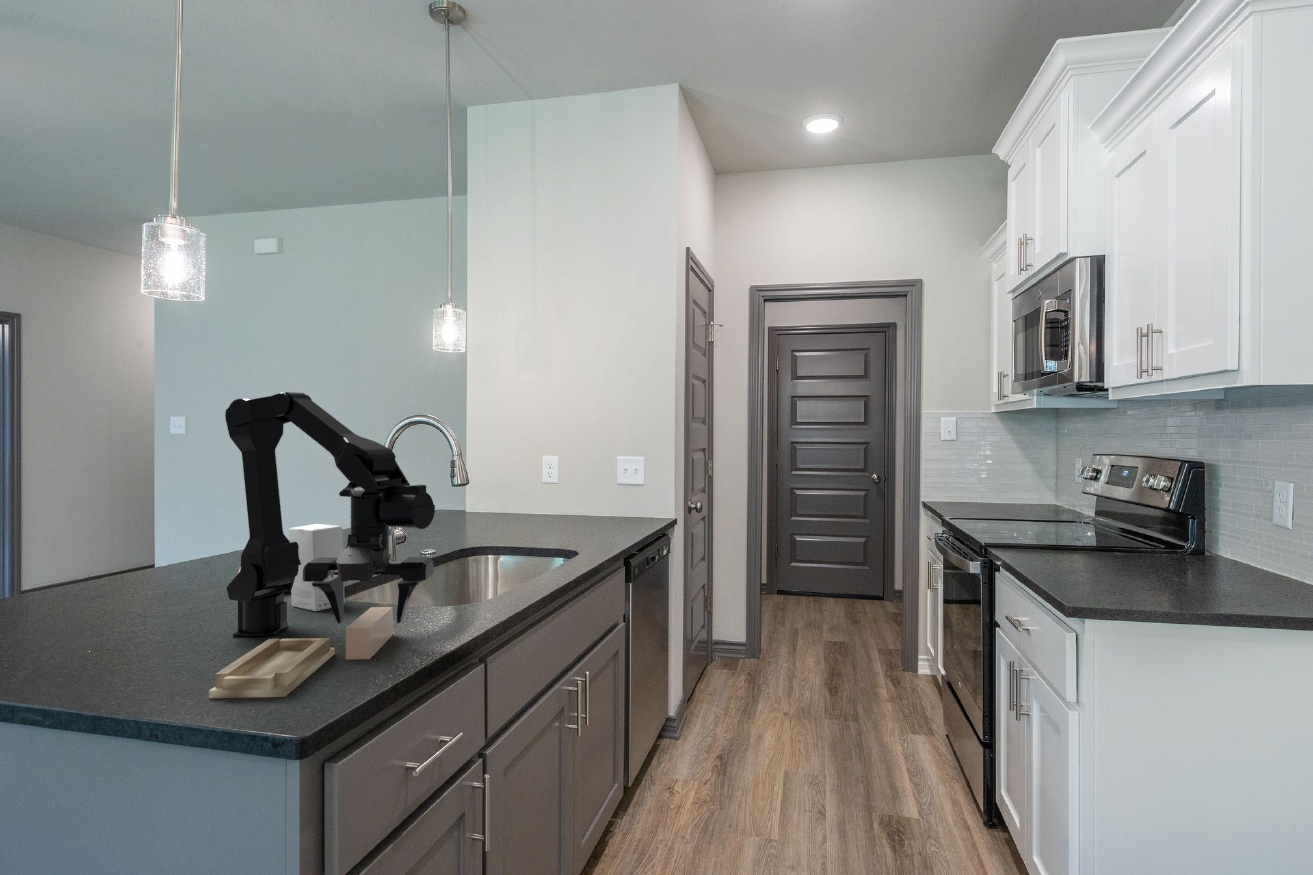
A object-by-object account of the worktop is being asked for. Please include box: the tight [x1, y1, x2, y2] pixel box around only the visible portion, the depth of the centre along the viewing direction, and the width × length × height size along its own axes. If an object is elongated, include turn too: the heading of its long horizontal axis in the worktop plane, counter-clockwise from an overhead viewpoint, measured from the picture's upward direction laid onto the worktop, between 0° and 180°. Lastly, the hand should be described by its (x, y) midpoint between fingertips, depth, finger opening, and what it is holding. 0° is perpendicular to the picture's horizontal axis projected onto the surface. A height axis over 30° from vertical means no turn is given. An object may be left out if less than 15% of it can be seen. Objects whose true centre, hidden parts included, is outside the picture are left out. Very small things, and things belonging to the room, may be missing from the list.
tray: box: [208, 637, 336, 699], centre depth 100 cm, size 10×17×3 cm, turn 4°
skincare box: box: [288, 523, 346, 612], centre depth 137 cm, size 8×7×16 cm
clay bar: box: [345, 606, 394, 661], centre depth 113 cm, size 4×12×5 cm, turn 5°
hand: (369, 622), depth 113 cm, fingers open, 9 cm apart
